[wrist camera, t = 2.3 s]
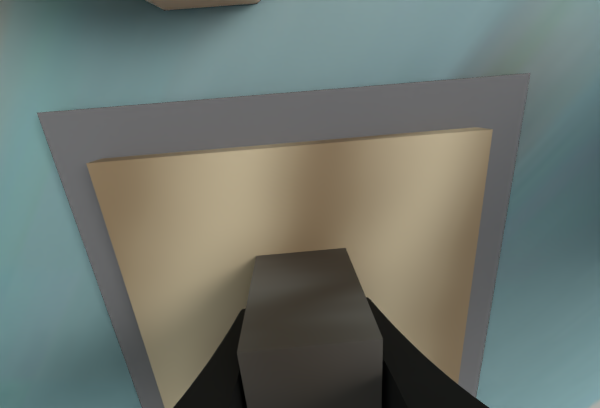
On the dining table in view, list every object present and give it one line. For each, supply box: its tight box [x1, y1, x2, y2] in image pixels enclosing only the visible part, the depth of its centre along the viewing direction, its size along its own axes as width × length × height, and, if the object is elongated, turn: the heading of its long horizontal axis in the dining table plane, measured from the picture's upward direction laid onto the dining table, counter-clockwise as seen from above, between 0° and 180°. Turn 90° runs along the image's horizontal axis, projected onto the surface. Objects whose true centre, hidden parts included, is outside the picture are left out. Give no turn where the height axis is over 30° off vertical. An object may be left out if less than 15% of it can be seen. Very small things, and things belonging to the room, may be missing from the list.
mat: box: [37, 73, 530, 408], centre depth 12 cm, size 15×15×1 cm
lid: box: [86, 127, 493, 408], centre depth 9 cm, size 12×12×5 cm
